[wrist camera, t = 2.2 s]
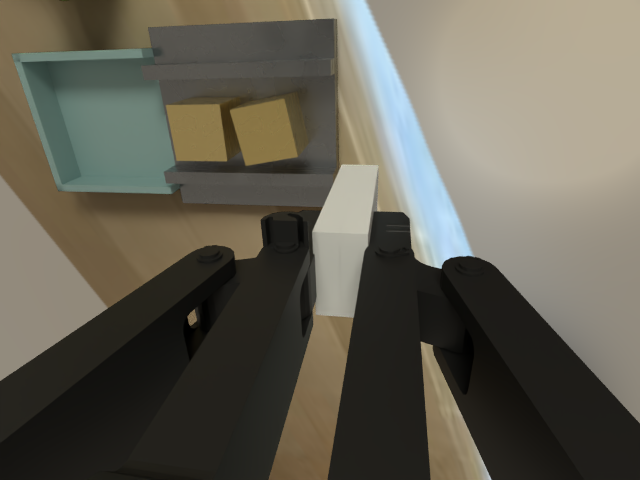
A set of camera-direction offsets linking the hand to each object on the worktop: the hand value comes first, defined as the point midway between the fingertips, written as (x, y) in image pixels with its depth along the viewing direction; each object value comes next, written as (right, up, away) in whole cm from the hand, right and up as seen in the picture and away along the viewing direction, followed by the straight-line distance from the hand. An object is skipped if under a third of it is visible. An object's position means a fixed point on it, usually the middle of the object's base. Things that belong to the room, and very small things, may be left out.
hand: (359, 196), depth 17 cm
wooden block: (-10, +8, +16) cm, 20 cm away
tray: (-19, +9, +19) cm, 28 cm away
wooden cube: (-5, +7, +15) cm, 17 cm away
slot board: (-7, +8, +17) cm, 20 cm away
